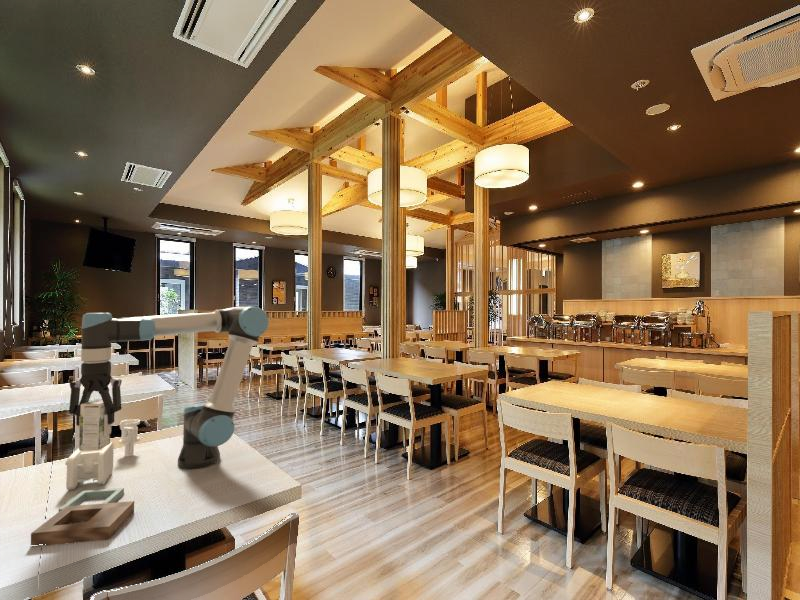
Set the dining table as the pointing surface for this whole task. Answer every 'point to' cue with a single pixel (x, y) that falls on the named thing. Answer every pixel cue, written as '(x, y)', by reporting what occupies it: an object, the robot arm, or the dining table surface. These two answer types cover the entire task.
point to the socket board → (98, 527)
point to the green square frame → (96, 496)
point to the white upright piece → (129, 435)
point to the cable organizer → (89, 466)
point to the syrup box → (92, 426)
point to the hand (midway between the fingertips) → (95, 434)
